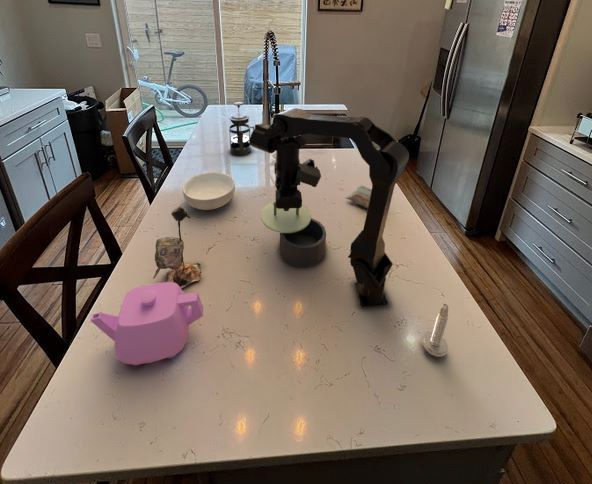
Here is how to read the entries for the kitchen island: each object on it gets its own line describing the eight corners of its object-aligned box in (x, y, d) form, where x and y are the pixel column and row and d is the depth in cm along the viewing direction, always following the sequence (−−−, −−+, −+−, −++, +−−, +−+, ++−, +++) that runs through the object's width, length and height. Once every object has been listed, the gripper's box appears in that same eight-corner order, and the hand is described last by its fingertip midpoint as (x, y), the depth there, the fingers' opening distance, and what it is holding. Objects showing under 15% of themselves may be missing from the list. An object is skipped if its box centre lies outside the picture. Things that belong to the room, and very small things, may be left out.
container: (328, 265, 88) (329, 246, 85) (280, 267, 87) (281, 248, 84) (320, 233, 99) (321, 216, 97) (279, 235, 98) (279, 217, 96)
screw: (426, 363, 65) (416, 339, 70) (450, 361, 65) (439, 338, 70) (439, 317, 60) (428, 294, 64) (465, 316, 60) (451, 293, 65)
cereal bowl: (197, 224, 101) (195, 205, 99) (177, 199, 113) (174, 182, 110) (244, 204, 112) (244, 186, 109) (221, 183, 123) (220, 167, 121)
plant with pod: (159, 267, 86) (148, 203, 78) (204, 263, 87) (197, 200, 79) (151, 293, 78) (137, 226, 71) (200, 289, 80) (191, 222, 72)
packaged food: (374, 217, 107) (376, 204, 105) (344, 202, 114) (345, 190, 112) (386, 205, 113) (388, 193, 111) (357, 192, 120) (358, 180, 118)
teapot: (205, 305, 76) (200, 263, 71) (205, 359, 65) (199, 314, 60) (110, 322, 71) (98, 279, 66) (92, 384, 60) (76, 338, 55)
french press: (229, 157, 142) (226, 107, 133) (227, 148, 151) (224, 100, 142) (256, 154, 145) (255, 105, 136) (253, 145, 154) (251, 98, 145)
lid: (314, 234, 83) (315, 217, 81) (260, 235, 82) (260, 219, 80) (308, 202, 96) (309, 187, 94) (261, 203, 95) (261, 187, 93)
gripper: (325, 177, 74) (321, 232, 80) (314, 141, 91) (311, 189, 97) (276, 178, 73) (275, 233, 79) (274, 142, 90) (274, 190, 96)
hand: (286, 209), depth 88 cm, fingers closed on lid
